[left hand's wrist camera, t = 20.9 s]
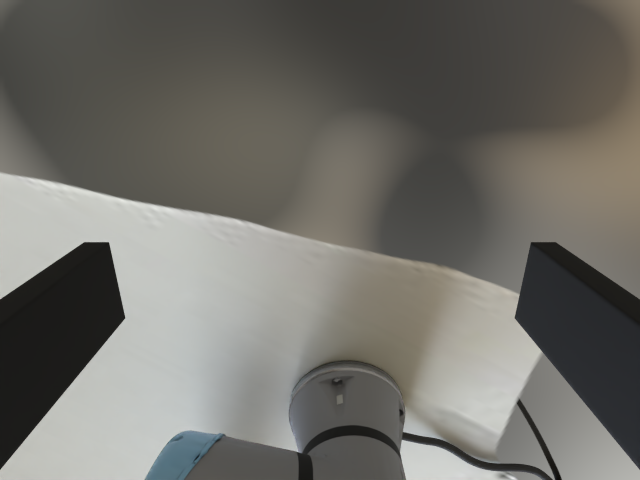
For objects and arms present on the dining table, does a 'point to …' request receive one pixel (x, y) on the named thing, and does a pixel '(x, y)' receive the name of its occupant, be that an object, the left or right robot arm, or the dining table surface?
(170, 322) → the dining table surface
